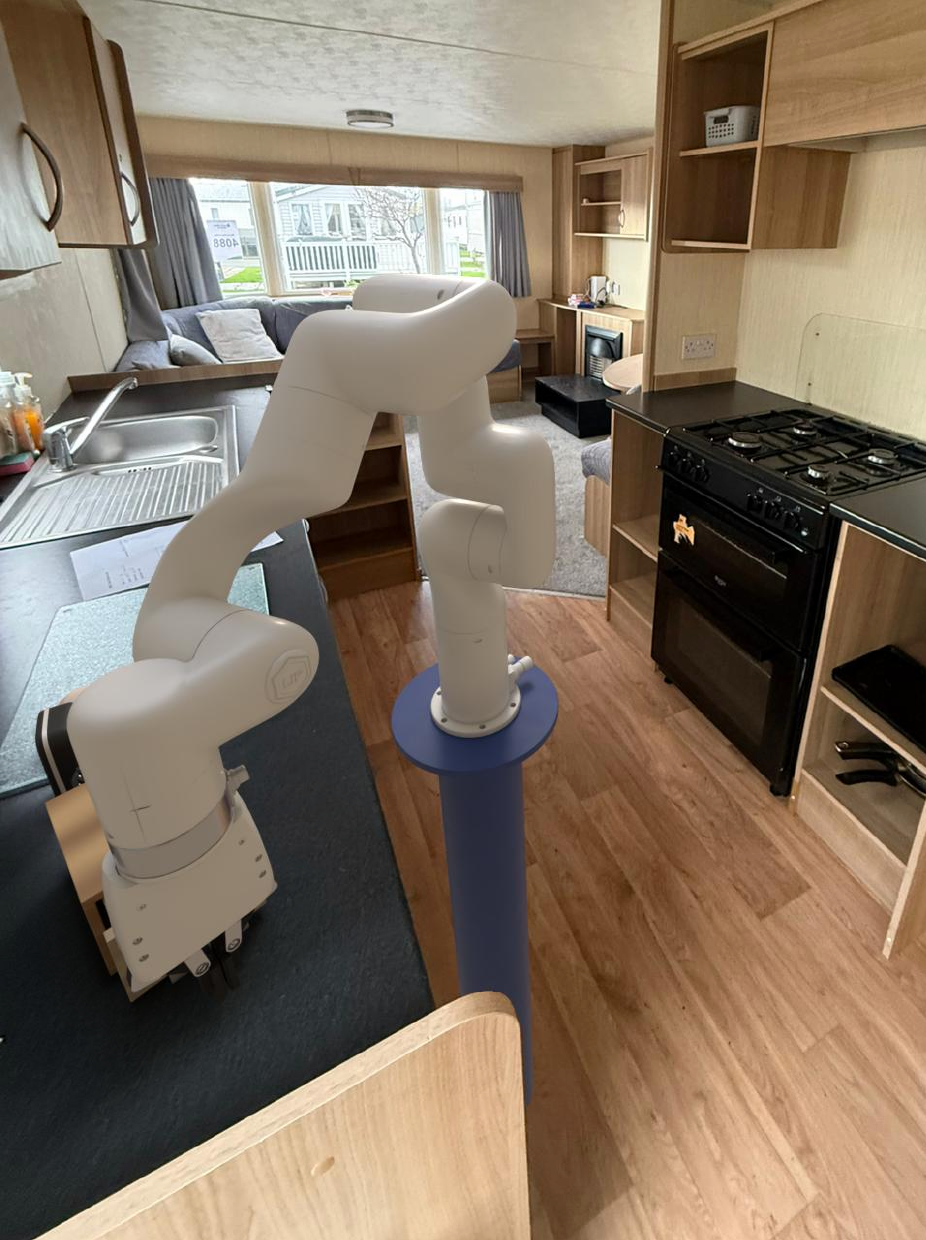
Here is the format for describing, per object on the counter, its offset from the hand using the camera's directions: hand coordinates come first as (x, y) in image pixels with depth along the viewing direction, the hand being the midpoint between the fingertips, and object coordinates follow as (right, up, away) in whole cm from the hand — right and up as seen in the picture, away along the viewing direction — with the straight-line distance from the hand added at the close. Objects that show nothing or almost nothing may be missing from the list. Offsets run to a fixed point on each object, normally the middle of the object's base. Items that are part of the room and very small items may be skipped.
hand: (223, 980), depth 52 cm
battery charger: (-29, +4, +22) cm, 36 cm away
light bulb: (-33, +8, +32) cm, 46 cm away
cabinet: (-13, +1, +13) cm, 18 cm away
